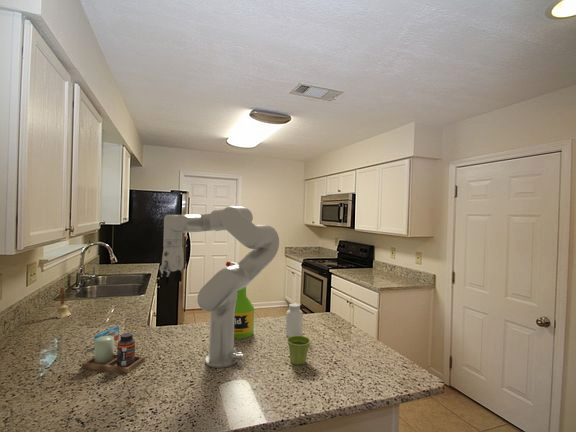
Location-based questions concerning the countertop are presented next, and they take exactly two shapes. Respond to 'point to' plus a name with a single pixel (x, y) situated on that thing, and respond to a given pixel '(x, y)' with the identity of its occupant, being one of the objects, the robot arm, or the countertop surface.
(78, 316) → the countertop surface
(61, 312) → the hand bell
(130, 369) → the caddy
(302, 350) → the plant pot
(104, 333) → the yogurt
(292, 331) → the pill bottle
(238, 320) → the spray bottle
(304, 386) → the countertop surface
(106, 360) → the pale green cylinder
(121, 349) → the supplement bottle
